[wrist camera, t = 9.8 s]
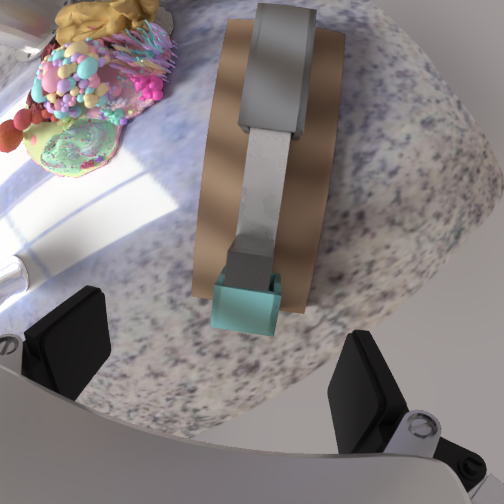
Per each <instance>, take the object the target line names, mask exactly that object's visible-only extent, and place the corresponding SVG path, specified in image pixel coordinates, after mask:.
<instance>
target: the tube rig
mask: <svg viewBox="0 0 504 504" xmlns="http://www.w3.org/2000/svg"><path fill="white" fill-rule="evenodd" d="M316 13H317V10H314V9H308V8H302V7H295V6H287V5H278V4H267V3H258V6H257V11H256V17H255V20H245V19H228V23H227V28H226V33H225V37H224V42H223V47H222V52H221V57H220V62H219V68H218V73H217V79H216V84H215V90H214V96H213V102H212V108H211V115H210V121H209V128H208V135H207V142H206V149H205V157H204V165H203V173H202V181H201V190H200V199H199V209H198V219H197V230H196V241H195V253H194V267H193V282H192V296H194V297H199V298H205V299H210V300H213V302H212V314H211V327H217V328H222V329H228V330H234V331H240V332H246V333H253V334H260V335H266V336H274V332H275V327H276V322H277V317H278V312H279V310H280V311H288V312H295V313H303V314H304V312H305V308H306V303H307V299H308V295H309V290H310V285H311V281H312V276H313V271H314V267H315V262H316V257H317V252H318V247H319V242H320V236H321V231H322V225H323V220H324V214H325V208H326V202H327V196H328V190H329V184H330V177H331V170H332V164H333V156H334V149H335V141H336V133H337V125H338V116H339V107H340V97H341V86H342V74H343V60H344V44H345V34H344V33H340V32H335V31H331V30H326V29H321V28H315V25H316ZM250 127H258V128H266V129H274V130H281V131H288V132H291V136H290V144H289V151H288V158H287V165H286V172H285V179H284V186H283V193H282V199H281V206H280V213H279V219H278V226H277V232H276V239H275V245H274V259H273V265H272V271H271V277H270V283H269V289H268V291H262V290H255V289H249V288H242V287H236V286H230V285H224V278H225V269H226V260H227V251H228V249H229V247H230V246H231V244H232V242H233V241H234V239H235V238H236V232H237V224H238V216H239V209H240V201H241V193H242V186H243V178H244V171H245V163H246V156H247V149H248V141H249V134H250Z"/></svg>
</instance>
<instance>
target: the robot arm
mask: <svg viewBox="0 0 504 504" xmlns="http://www.w3.org/2000/svg"><path fill="white" fill-rule="evenodd" d="M69 4H73V1H72V0H0V45H4V46H7V47H10V48H14V49H15V55H16V58H17V59H18V60H19V61H22V62H29V61H32V60H34V59H36V58H38V57H39V56H40V55H41V54H42V52H43V51H44V50H45V48H46V47H47V45H48V44H51V45H52V44H53V43H54V41H55V38H56V32H57V29H58V28H59V27H60V26H59V25H58V24H57V23H56V22H55V18H56V17H57V15H58V13H59V12H60V10H61V9H62V8H63V7H65V6H66V5H69ZM24 335H25V339H26V340H25V341H24V342H23V341H22V339H21V338H20V337H19V336H17V335H14V334H4V335H1V336H0V504H504V483H502V482H501V481H500V480H499V479H498V478H496V477H495V476H494V475H493V474H491V473H490V474H489V475H488V476H487V475H486V470H487V469H486V464H485V462H484V460H483V459H482V458H481V457H480V456H479V455H478V454H476V453H474V452H471V451H469V450H467V449H465V448H463V447H461V446H459V445H456V444H455V443H452V442H450V441H448V440H446V439H444V438H442V437H440V435H441V429H442V428H441V425H440V422H439V421H438V419H437V418H436V417H435V416H434V415H432V414H430V413H429V412H426V411H423V410H413V411H410V412H409V410H408V407H407V404H406V402H405V399H404V397H403V395H402V393H401V391H400V389H399V387H398V385H397V383H396V381H395V379H394V377H393V375H392V373H391V371H390V369H389V368H388V366H387V363H386V362H385V360H384V358H383V356H382V354H381V352H380V350H379V348H378V346H377V344H376V343H375V341H374V339H373V337H372V335H371V333H370V332H369V331H365V330H354V331H353V332H352V333H349V334H348V335H347V337H346V340H345V343H344V346H343V349H342V352H341V354H340V357H339V360H338V363H337V365H336V368H335V371H334V373H333V376H332V379H331V381H330V384H329V386H328V399H329V404H330V409H331V414H332V419H333V424H334V429H335V435H336V440H337V446H338V452H339V454H304V453H283V452H270V451H259V450H251V449H242V448H236V447H229V446H223V445H216V444H211V443H206V442H201V441H196V440H191V439H187V438H183V437H178V436H174V435H170V434H166V433H163V432H159V431H155V430H152V429H149V428H145V427H142V426H139V425H136V424H132V423H129V422H126V421H124V420H121V419H118V418H115V417H112V416H109V415H107V414H104V413H102V412H99V411H96V410H94V409H91V408H89V407H87V406H84V405H82V404H80V403H77V402H75V400H76V399H77V397H78V396H79V395H80V393H81V392H82V391H83V389H84V388H85V387H86V386H87V384H88V383H89V382H90V380H91V379H92V378H93V376H94V375H95V374H96V373H97V371H98V370H99V369H100V367H101V366H102V365H103V364H104V362H105V361H106V360H107V359H108V357H109V356H110V353H111V344H110V337H109V330H108V322H107V313H106V303H105V295H104V293H102V291H101V289H100V288H97V287H93V286H88V285H87V286H85V287H84V288H82V289H81V290H79V291H78V292H77V293H75V294H74V295H73V296H71V297H70V298H68V299H67V300H66V301H64V302H63V303H62V304H60V305H59V306H58V307H56V308H55V309H54V310H52V311H51V312H50V313H48V314H47V315H46V316H44V317H43V318H42V319H40V320H39V321H38V322H37V323H35V324H34V325H33V326H31V327H30V328H29V329H28V330H26V331H25V332H24Z"/></svg>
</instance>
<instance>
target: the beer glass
mask: <svg viewBox="0 0 504 504" xmlns="http://www.w3.org/2000/svg"><path fill="white" fill-rule="evenodd" d="M28 283H29V279H28V273H27V270H26V268H25V266H24V264H23V262H22V261H21V260H20V259H19V258H18V257H17V256H11V257H9V258H8V259H7V260H5V261H4V262H3V263H1V264H0V305H1V304H2V303H3V302H4V301H5V300H6V299H8V298H9V297H11V296H13V295H15V294H19V293H22V292H24V291H26V290H27V288H28Z"/></svg>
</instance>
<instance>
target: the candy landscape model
mask: <svg viewBox="0 0 504 504" xmlns="http://www.w3.org/2000/svg"><path fill="white" fill-rule="evenodd" d="M55 22H56V23H57V24H58V25H59V26H60V27H59V28H58V29H57V32H56V38H55V40H57V41H58V43H57V42H54V43H53V44H52V45H51V44H48V45H47V47H46V48H45V50H44V51H43V52H42V54H41V64H40V65H39V69H38V71H37V74H36V77H35V79H34V85H33V87H32V89H31V91H30V92H29V94H28V97H27V102H26V104H27V105H26V108H25V109H21V110H19V111H18V112H17V113H16V115H15V117H14V120H11V119H10V120H7V121H5V122H3V123H2V124H1V125H0V151H1V152H6V153H8V152H11V151H13V150H15V149H16V148H17V147H18V146H19V144H20V143H21V141H22V140H23V142H24V145H25V147H26V148H27V153H28V154H29V155H30V156H31V157H32V159H33V161H34V162H36V163H37V164H38V165H42V166H43V167H44V169H45V170H46V171H47V172H53V173H54V174H56V175H57V176H59V177H64V176H68V177H74V178H78V177H81V176H83V175H85V174H87V173H89V172H92V171H94V170H96V169H98V168H100V167H102V166H105V165H106V164H107V163H108V160H109V159H110V158H112V157H113V156H114V153H115V151H116V149H117V147H118V145H119V137H120V135H121V131H122V127H123V126H124V125H126V124H127V122H128V119H131V118H133V117H135V116H138V115H140V114H141V113H142V112H143V110H144V109H145V108H147V107H149V106H152V105H153V104H154V102H155V101H156V100H160V99H162V97H163V91H162V88H163V81H162V80H165V81H167V82H168V83H169V81H168V80H166V79H167V76H165V74H166V71H167V72H168V73H172V72H171V71H170V70H169V69H167V68H169V67H170V66H172V67H173V68H174V69H175V68H176V67H175V66H174V65H172V64H170V63H169V62H167V60H168V59H169V61H170V62H172V63H173V64H175V62H174V61H172V59H170V58H171V55H173V56H175V57H176V58H177V59H179V57H178V56H176V55H175V54H174V53H172V51H171V50H170V48H173V46H174V47H175V48H176V49H178V47H176V45H177V46H178V44H177V42H175V41H174V40H173V41H172V42H174V43H175V44H176V45H174V44H173V45H172V42H171V41H170V38H169V35H170V34H171V32H172V30H173V27H174V25H173V19H172V14H171V12H167V11H166V8H165V7H161V6H159V0H111V2H110V1H96V2H79V3H74V4H69V5H66V6H65V7H63V8H62V9H61V10H60V12H59V13H58V15H57V17H56V18H55ZM166 67H167V68H166ZM163 77H164V78H165V79H164V78H163Z"/></svg>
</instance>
